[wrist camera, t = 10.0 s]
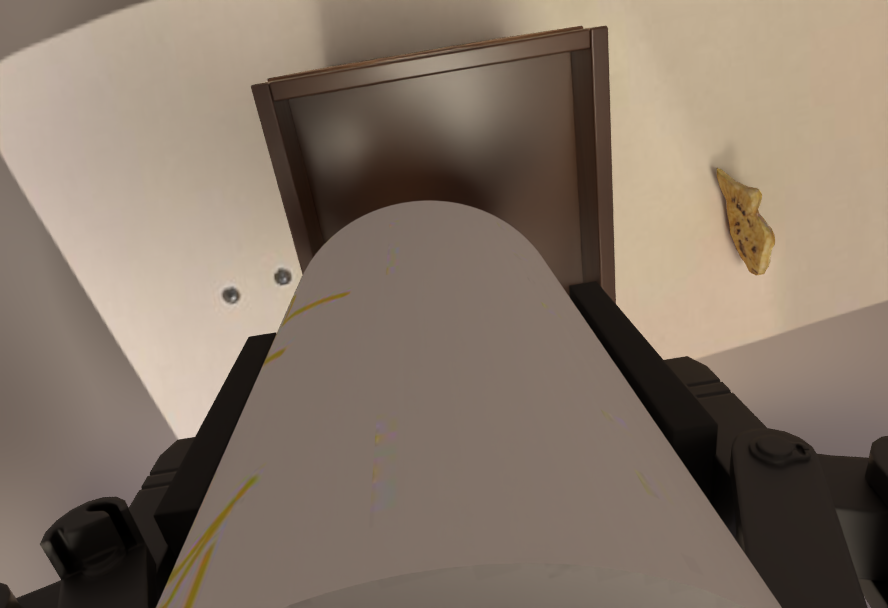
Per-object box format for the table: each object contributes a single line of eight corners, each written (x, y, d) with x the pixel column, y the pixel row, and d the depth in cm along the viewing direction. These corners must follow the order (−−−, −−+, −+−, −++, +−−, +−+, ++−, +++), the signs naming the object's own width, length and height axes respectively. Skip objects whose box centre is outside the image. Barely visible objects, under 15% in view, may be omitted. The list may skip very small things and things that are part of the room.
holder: (341, 353, 26) (334, 389, 23) (270, 81, 21) (249, 85, 18) (594, 310, 26) (617, 342, 23) (580, 29, 21) (608, 25, 18)
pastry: (750, 257, 45) (789, 280, 41) (732, 265, 46) (769, 289, 41) (722, 157, 42) (762, 170, 37) (703, 167, 42) (740, 181, 37)
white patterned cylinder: (274, 204, 15) (-52, 597, 4) (572, 197, 16) (967, 533, 5) (306, 449, 18) (170, 1022, 8) (551, 436, 19) (755, 959, 8)
